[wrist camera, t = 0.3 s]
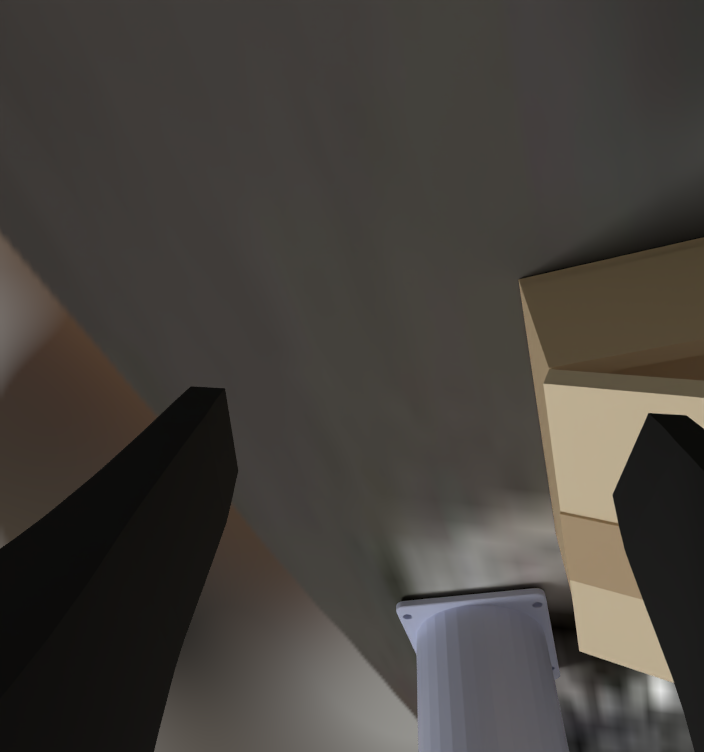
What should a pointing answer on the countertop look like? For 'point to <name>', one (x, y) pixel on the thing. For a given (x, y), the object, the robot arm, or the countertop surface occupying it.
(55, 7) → the countertop surface
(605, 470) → the cardboard lid
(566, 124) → the countertop surface
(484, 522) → the countertop surface
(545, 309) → the cardboard box
